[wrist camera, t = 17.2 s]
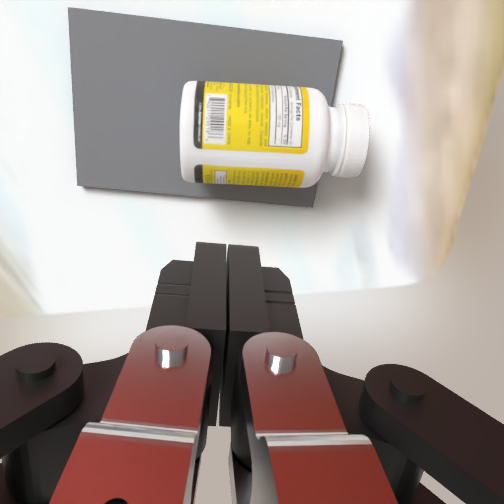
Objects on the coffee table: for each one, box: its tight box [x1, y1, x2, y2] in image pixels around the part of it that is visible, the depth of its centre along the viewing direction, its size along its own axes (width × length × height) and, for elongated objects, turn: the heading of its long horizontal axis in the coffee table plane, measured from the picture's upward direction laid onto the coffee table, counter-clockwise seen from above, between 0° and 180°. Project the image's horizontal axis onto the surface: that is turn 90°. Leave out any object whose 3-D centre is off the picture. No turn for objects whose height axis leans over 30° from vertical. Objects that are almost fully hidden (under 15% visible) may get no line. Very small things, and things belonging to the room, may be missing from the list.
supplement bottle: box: [179, 81, 370, 188], centre depth 26 cm, size 5×5×10 cm
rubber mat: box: [68, 8, 343, 207], centre depth 29 cm, size 15×10×1 cm, turn 84°
